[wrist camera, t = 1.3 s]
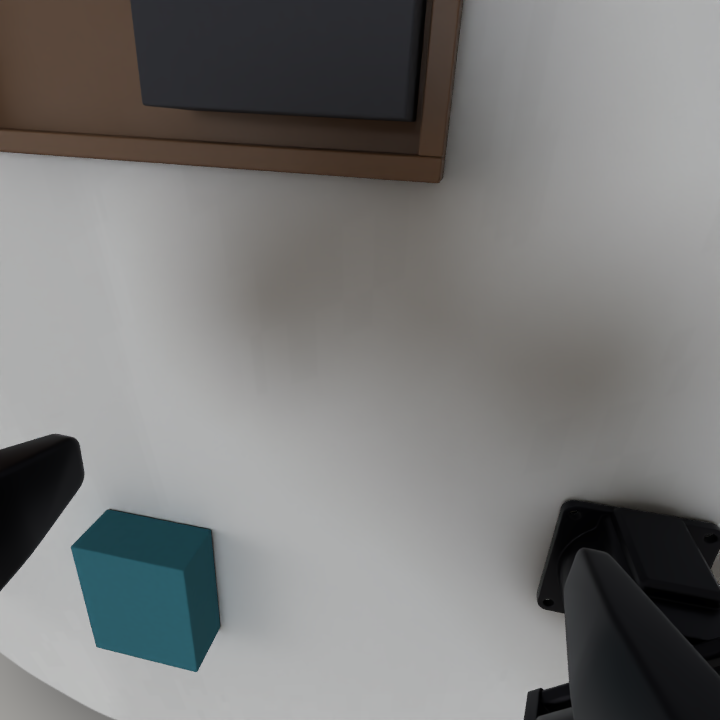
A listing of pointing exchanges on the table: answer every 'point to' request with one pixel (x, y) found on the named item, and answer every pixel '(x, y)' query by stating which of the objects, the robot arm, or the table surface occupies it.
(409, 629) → the table surface
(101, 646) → the teal pad
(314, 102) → the charcoal pad
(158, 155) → the backing tray
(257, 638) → the table surface
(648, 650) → the robot arm
